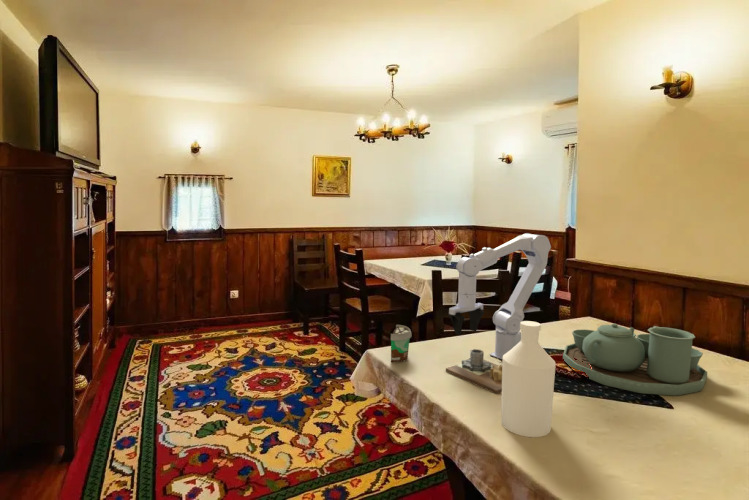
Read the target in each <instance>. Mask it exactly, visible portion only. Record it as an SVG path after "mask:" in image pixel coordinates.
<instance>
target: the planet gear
mask: <svg viewBox="0 0 749 500" xmlns="http://www.w3.org/2000/svg"><path fill="white" fill-rule="evenodd" d="M484 354H485V353H484V350H482V349H480V348H479V349H475V348H473V349H470V352H469V355H470V356H469V358H468V359H465V360H464V359H462V360H461V364H462V368H466V369H469V370H470V371H472V372H473V371H481V372H485V371H486V370H490V368H492V366H491V363H492V362H491V361H489V362H486V361H487V360H486V361H484V360H485V359H484V357H485V356H484ZM490 362H491V363H490Z"/></svg>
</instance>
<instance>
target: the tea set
mask: <svg viewBox="0 0 749 500" xmlns="http://www.w3.org/2000/svg"><path fill="white" fill-rule="evenodd" d="M634 332H635V328H634V327H632V326H630V327H629V328H627V327H625V326H623V325H622V326H621V325H618V324H617V323H611V324H602V325H600V326H597V329H596V330H592V329H583V328H582V329H574V330H572V332H571V334H572V337H573V342H574V343H569V344H568V345H565V348H564V351H563V354H562V360H563V359H564V361H565V362H566V363H567V364H568V365H570V366H571V367H573V368H575V369H577V370H580V371H583V372H585V373H586V374H587V375H588V376H589V380H591V381H594V382H596V383H598V384H600V385H603V386H607V387H611V388H614V389H615V388H617V389H620V390H625V391H629V392H633V393H639V394H644V395H645V394H646V395H647V394H648V395H662V396H663V395H664V396H675V397H677V396H681V395H688V394H691V393H697V392H701V391H702V390H703V388H704V387H705V384H706V381H707V379H708V371H706V369H704V368H703V367H702V366H700V365H699V362H700V359H701V358H702V357H703V355H704V353H703V352H702V351H700V350H698V349H696V348H693V340H694V339H695V338H696V336H695V335H694V333H691V332H690V331H686V330H682V329H679V328H678V329H677V328H672V327H664V326H663V327H662V326H661V327H660V326H655V325H653V326H652V327H649V328H648V329H647V332H649V333H640V334H637V335H636V333H634ZM574 358H576V359H577V360H575V359H574ZM564 361H563V362H564ZM582 361H583V362H582ZM588 364H590V365H591V367H592V370H591V368H590V365H588Z"/></svg>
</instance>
